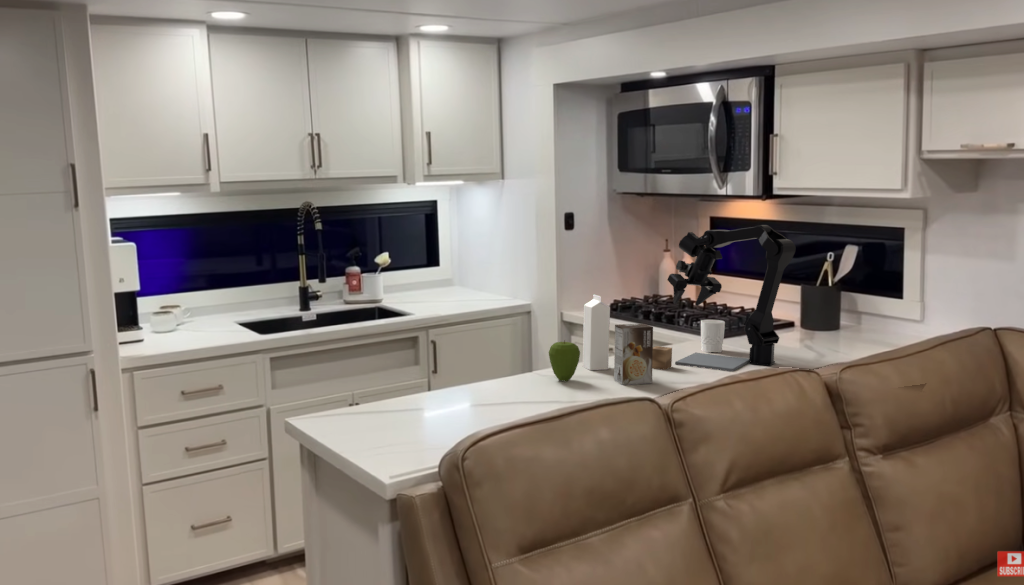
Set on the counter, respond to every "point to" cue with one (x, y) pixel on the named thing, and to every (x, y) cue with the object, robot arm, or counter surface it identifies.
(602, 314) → the milk
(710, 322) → the white cup
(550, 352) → the apple
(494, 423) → the counter surface
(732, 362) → the slate mat
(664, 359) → the walnut block
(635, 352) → the printed cardboard box
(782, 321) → the counter surface
